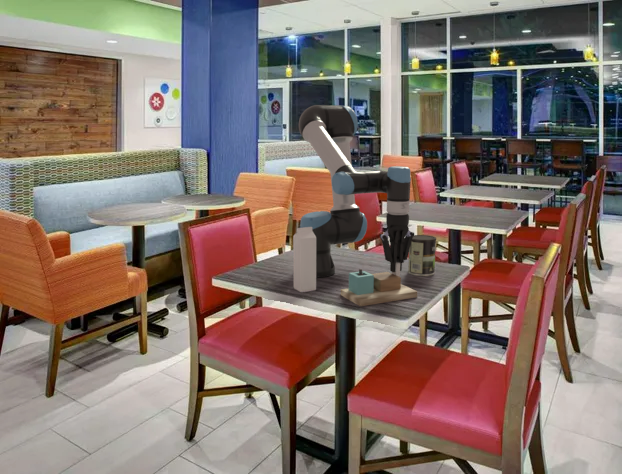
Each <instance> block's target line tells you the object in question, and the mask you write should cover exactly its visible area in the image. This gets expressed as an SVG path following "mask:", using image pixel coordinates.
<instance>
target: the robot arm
mask: <svg viewBox="0 0 622 474" xmlns="http://www.w3.org/2000/svg"><path fill="white" fill-rule="evenodd" d="M358 125H359V124H358V117H357V114H356V113H355V111H354V110H353V108H352V107H351V106H348V105H341V104H339V105H338V104H335V105H325V104H321V105H320V104H314V105H311V106H309V107H308V108H306V109H305V110H303V112H302V113H301V114H300V117H299V121H298V131H299V133H300V135H301V137H302V138H303V140H304V141H305V142H306V143H309V144H310V145H311V147H312V149H314V152H315V153H316V155H317V156H318V157H319V159H320V160H321V162H322V163H323V164H324V166H325V167H326V169H327V170H328V171H329V173H330V182H331V191H332V193H331V195H332V201H333V202H332V203H333V206H332V207H331V209H330V210H329V211H326V210H321V211H312V212H308V213H305V214H303V215H302V216H301V218H300V225H299V228H304V227H312V231H313V233H314V234H315V236H316V278H325V277H329V276H333V275H334V274H336V273H335V272H336V266H335V263H334V260H333V257H332V253H331V252H332V251H331V246H332V245H340V244H353V243H357V242H360V241H362V240H363V238H364V237H365V235H366V233H367V230H368V220H367V217H366V215H365V214H364V213H363V212H361V209H360V206H359V205H357V204H356V199H355V198H356V197H355V195H359V194H376V193H382V194H383V193H384V194H386V212H387V213H386V220H385V222H386V229H385V232H384V233H383V234H381V233H380V234H379V238H380V240H381V242H382V248H383V253H384V259H385V261H387V262H388V263H389V264H390V265H389V268H390V269H389V270H390V273H392V274H394V275H396V276H399V277H401V272H402V270H403V264H404V262H405V261H407V260H408V258H409V249H410V245H411V241H412V238H413V236H414V235H415V232H414V231H411V230H410V228H409V226H408V225H409V224H410V214H409V212H410V201H411V200H410V198H411V181H412V177H411V169H410V167H408V166H403V165H401V166H399V165H395V166H389V167H388V168H387V170H382V169H373V170H367V171H366V170H365V171H361V170H359V171H357V170H355V168H354V167H353V166H352V157H351V155H352V154H351V144H350V143H352V140H353V139H354V138H353V136H354V135H355V134H356V133H357V130H358V129H357V128H358V127H359V126H358Z"/></svg>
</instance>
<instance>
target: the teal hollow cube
mask: <svg viewBox="0 0 622 474" xmlns="http://www.w3.org/2000/svg"><path fill="white" fill-rule="evenodd" d="M358 273H359V271H355V272H349V273H348V288H349V291H351V292H353V293H355V294H357V295H362V294H368V293H373V288H374V275H372V274H373V273H370V272H368V271H366V270H362V273H363V275H362V276H359V275H358Z"/></svg>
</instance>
